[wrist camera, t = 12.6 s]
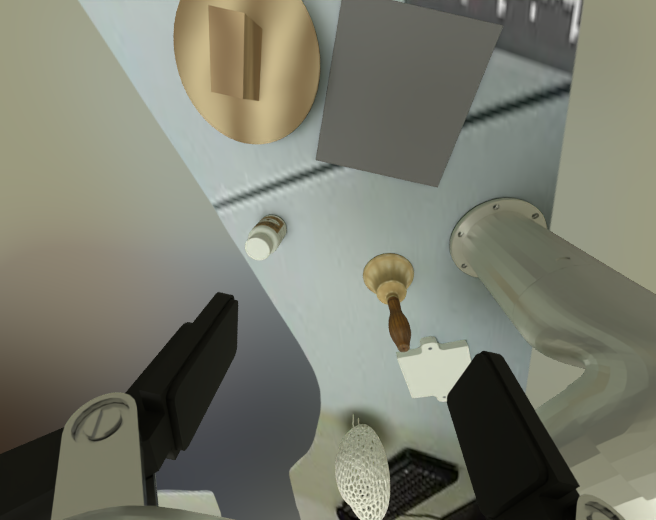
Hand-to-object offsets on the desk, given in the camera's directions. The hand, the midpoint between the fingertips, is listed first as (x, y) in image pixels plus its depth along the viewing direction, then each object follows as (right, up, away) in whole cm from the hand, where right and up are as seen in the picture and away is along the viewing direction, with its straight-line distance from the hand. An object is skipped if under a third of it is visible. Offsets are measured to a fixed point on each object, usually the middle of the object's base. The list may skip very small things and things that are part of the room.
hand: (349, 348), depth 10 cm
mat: (+7, +23, +21) cm, 32 cm away
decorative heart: (+8, -38, +56) cm, 68 cm away
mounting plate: (+21, -18, +43) cm, 52 cm away
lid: (-9, +24, +17) cm, 31 cm away
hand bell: (+9, +1, +34) cm, 35 cm away
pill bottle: (-9, +9, +31) cm, 34 cm away
